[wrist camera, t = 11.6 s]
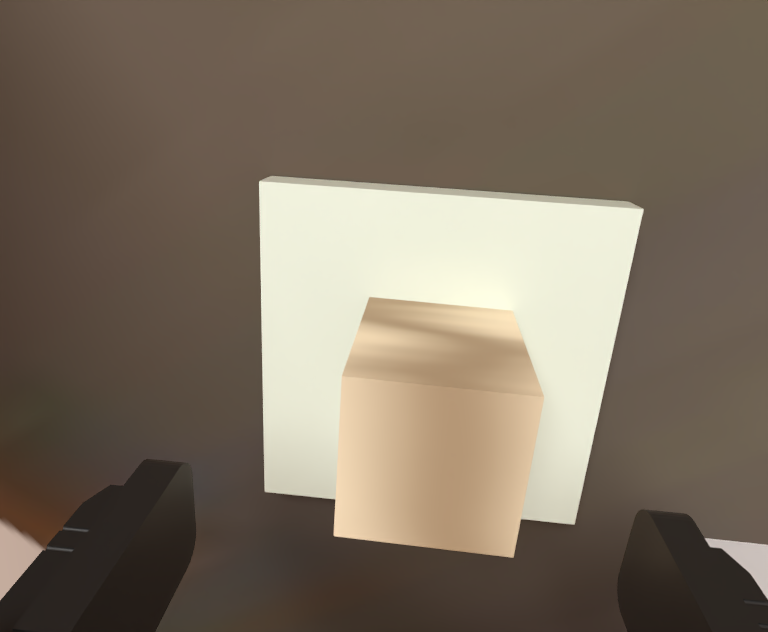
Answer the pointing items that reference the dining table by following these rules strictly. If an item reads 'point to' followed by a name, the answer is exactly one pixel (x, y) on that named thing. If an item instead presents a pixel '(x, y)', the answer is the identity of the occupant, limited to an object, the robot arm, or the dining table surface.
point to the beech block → (436, 428)
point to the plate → (443, 286)
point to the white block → (747, 558)
